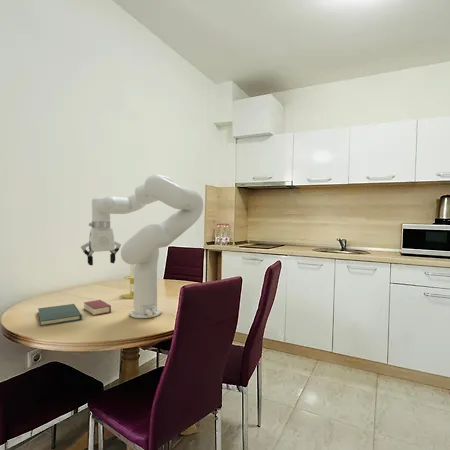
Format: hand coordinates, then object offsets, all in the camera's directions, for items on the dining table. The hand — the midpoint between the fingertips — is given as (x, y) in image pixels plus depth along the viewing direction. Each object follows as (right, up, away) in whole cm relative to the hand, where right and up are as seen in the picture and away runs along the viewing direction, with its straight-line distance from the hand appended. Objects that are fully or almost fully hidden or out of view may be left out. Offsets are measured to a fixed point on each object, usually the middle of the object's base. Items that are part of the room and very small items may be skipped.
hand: (101, 264), depth 143 cm
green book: (-14, -20, -11) cm, 27 cm away
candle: (+7, -20, +25) cm, 32 cm away
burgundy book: (-1, -20, -2) cm, 20 cm away
